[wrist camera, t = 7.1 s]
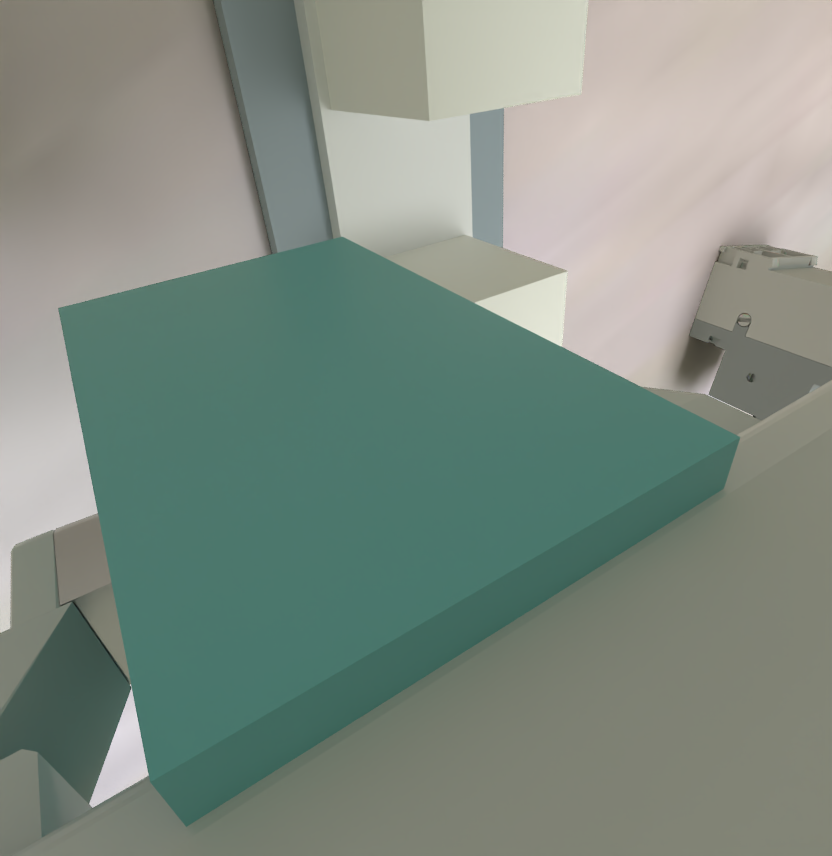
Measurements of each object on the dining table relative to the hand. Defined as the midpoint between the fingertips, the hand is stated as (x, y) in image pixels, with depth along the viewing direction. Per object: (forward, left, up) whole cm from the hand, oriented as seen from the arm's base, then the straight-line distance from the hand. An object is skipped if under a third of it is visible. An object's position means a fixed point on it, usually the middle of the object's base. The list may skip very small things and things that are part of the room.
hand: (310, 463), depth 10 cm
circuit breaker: (+19, +47, -21) cm, 55 cm away
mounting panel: (0, +13, -21) cm, 24 cm away
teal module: (0, 0, -4) cm, 4 cm away
